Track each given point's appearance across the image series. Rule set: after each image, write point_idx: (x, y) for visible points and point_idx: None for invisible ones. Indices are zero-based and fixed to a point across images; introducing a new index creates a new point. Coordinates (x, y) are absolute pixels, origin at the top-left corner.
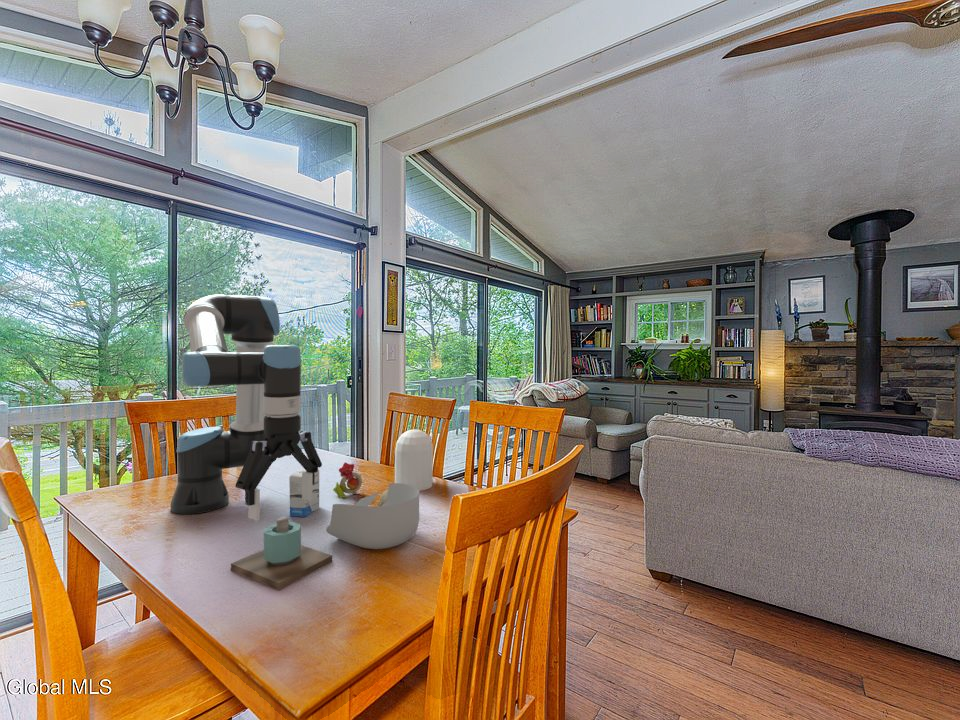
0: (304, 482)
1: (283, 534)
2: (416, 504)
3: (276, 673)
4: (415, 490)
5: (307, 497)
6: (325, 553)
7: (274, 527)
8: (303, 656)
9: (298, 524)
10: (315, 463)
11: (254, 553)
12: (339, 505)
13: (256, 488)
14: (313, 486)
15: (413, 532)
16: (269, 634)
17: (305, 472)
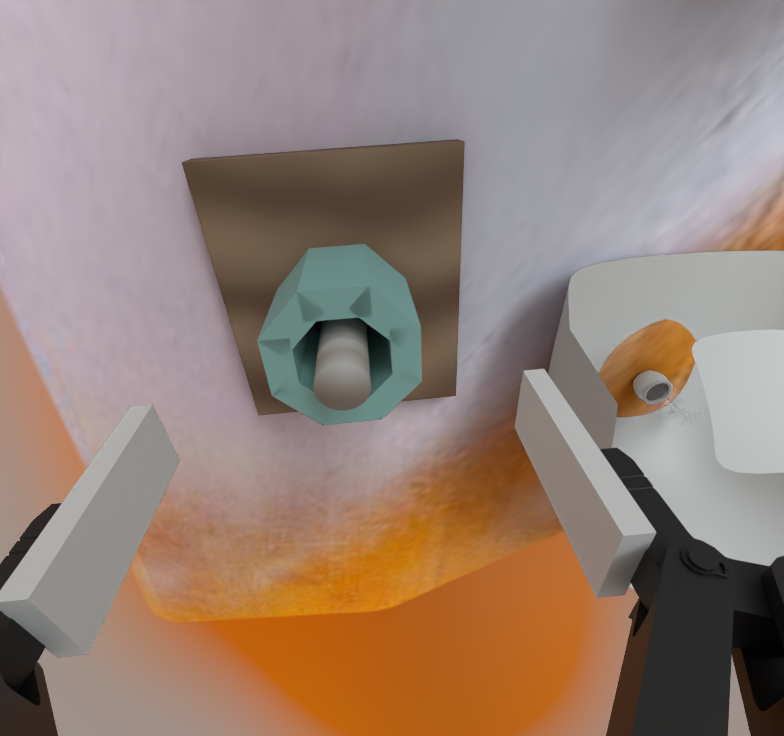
0: (568, 478)
1: (310, 416)
2: (730, 555)
3: (153, 576)
4: None
5: (523, 423)
6: (454, 371)
7: (327, 318)
8: (202, 573)
9: (415, 376)
10: (757, 645)
11: (296, 155)
12: (607, 443)
13: (65, 636)
14: None
15: (655, 482)
16: (177, 510)
17: (616, 562)
